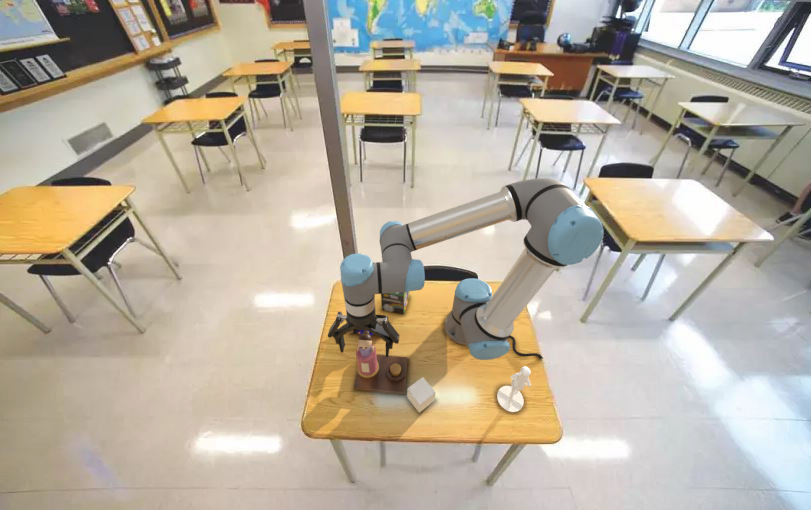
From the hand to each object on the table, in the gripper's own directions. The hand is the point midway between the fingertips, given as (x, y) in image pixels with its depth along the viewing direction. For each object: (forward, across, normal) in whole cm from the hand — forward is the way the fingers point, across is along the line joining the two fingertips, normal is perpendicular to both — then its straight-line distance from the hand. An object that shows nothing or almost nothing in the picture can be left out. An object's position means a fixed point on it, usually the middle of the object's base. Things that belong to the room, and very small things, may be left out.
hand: (365, 350), depth 95 cm
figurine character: (+14, +3, -16) cm, 22 cm away
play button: (+11, -9, 0) cm, 14 cm away
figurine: (+14, -46, +4) cm, 48 cm away
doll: (+10, 0, 0) cm, 10 cm away
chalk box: (+14, -6, -30) cm, 34 cm away
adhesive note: (+14, -18, +7) cm, 24 cm away
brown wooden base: (+14, -5, 0) cm, 15 cm away
